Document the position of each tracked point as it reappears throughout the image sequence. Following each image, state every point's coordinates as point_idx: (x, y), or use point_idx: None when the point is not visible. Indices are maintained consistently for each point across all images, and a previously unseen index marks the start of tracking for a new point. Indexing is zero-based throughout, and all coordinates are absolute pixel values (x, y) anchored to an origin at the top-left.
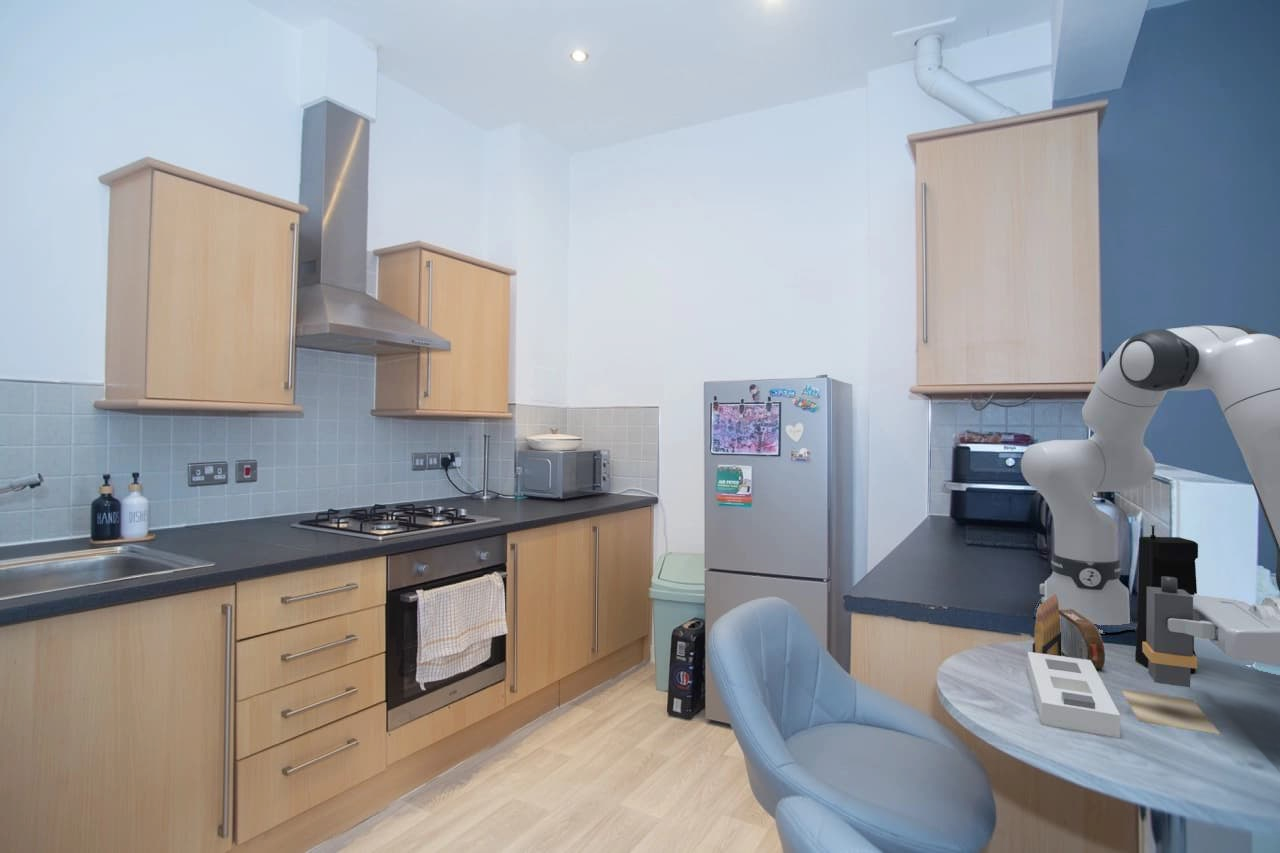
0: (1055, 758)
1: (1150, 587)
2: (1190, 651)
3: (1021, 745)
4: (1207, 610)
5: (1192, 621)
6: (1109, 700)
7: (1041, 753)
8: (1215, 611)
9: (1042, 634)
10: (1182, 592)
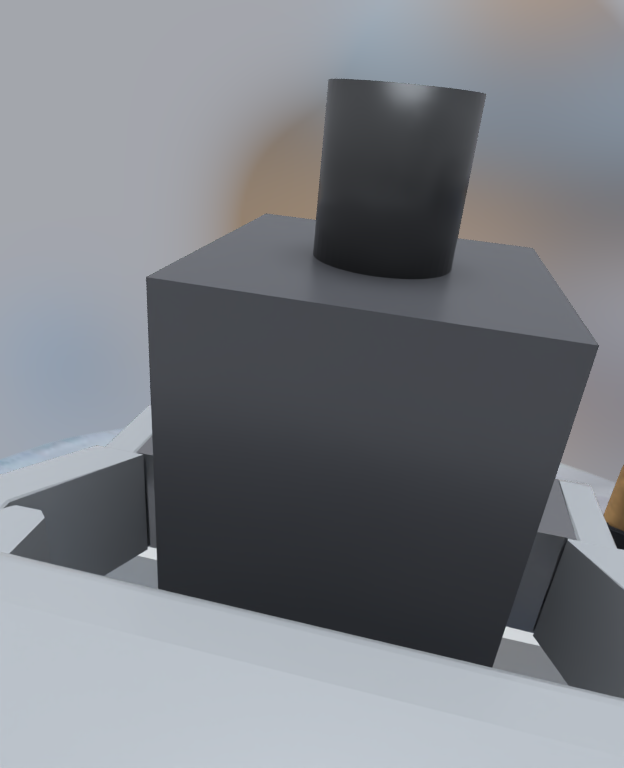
0: (12, 468)
1: (503, 248)
2: None
3: (79, 442)
4: (277, 653)
5: (46, 464)
6: (151, 551)
7: (39, 457)
8: (207, 741)
9: (622, 485)
10: (380, 293)
